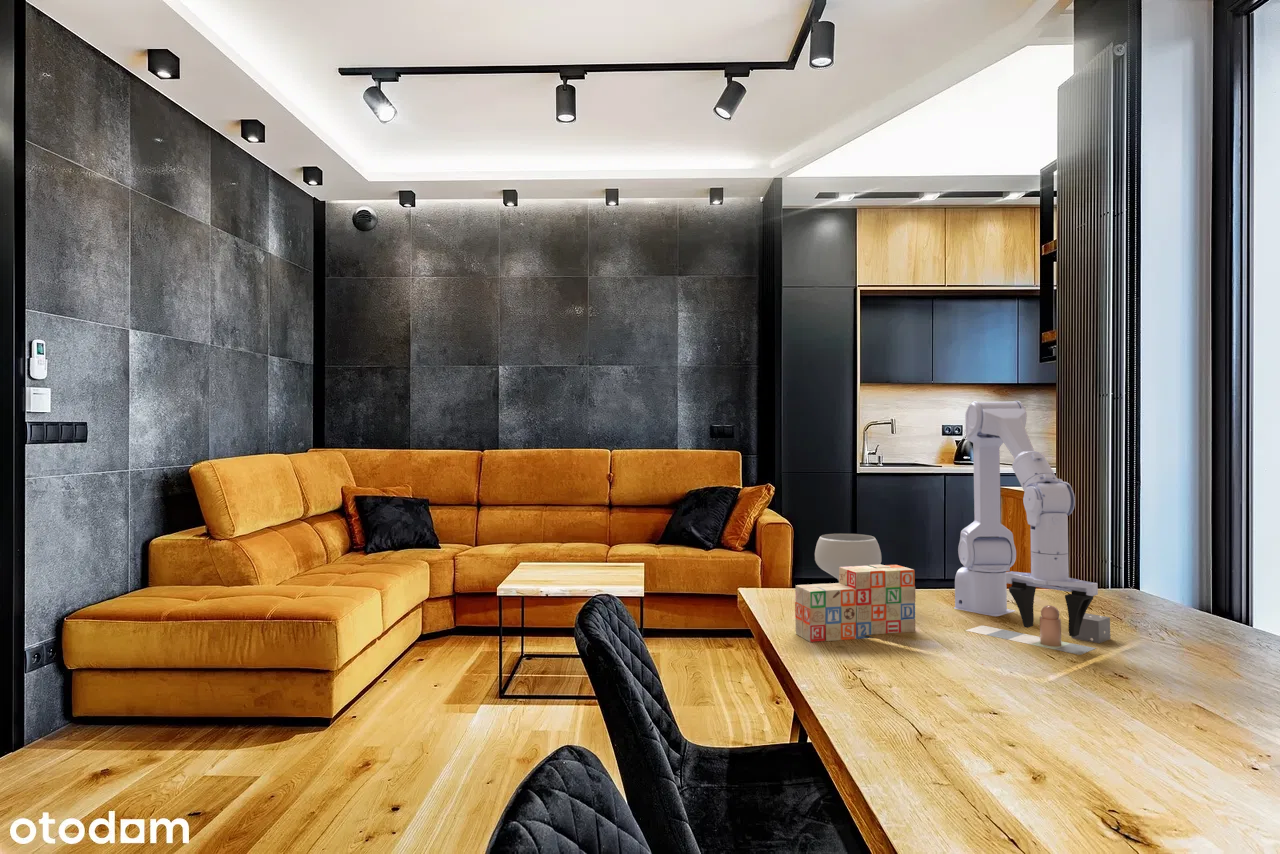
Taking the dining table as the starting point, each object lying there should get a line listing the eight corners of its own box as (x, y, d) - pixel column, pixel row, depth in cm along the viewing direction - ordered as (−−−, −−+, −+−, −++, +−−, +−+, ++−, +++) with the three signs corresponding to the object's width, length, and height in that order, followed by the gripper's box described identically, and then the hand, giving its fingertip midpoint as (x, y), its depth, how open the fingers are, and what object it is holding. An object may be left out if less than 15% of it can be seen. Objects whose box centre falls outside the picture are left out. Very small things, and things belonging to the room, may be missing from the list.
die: (1071, 641, 134) (1070, 615, 134) (1083, 637, 137) (1082, 612, 137) (1099, 647, 130) (1098, 620, 130) (1111, 643, 133) (1110, 616, 133)
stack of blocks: (809, 643, 135) (809, 574, 135) (795, 634, 141) (794, 568, 141) (916, 635, 140) (915, 568, 140) (897, 627, 146) (896, 563, 146)
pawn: (1036, 643, 130) (1036, 605, 131) (1045, 640, 132) (1044, 602, 132) (1056, 647, 128) (1055, 608, 128) (1064, 644, 130) (1063, 605, 130)
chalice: (868, 598, 171) (867, 532, 171) (892, 612, 157) (891, 540, 157) (807, 600, 170) (806, 533, 170) (826, 614, 156) (825, 541, 156)
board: (965, 633, 140) (965, 630, 140) (982, 628, 143) (982, 625, 143) (1080, 658, 124) (1080, 654, 124) (1096, 651, 127) (1096, 648, 127)
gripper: (996, 549, 134) (997, 626, 134) (1083, 559, 122) (1085, 643, 122) (1016, 545, 138) (1017, 620, 138) (1102, 555, 126) (1104, 636, 126)
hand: (1050, 630), depth 130 cm, fingers open, 7 cm apart
